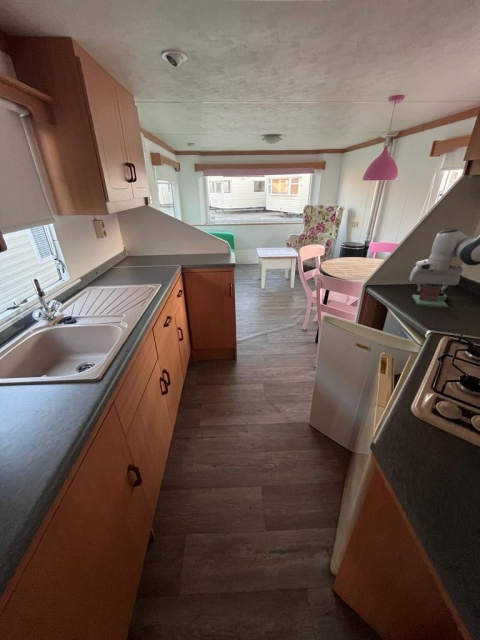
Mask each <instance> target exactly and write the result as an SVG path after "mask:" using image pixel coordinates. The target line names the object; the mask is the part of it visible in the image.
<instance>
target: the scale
mask: <svg viewBox="0 0 480 640" xmlns="http://www.w3.org/2000/svg"><path fill="white" fill-rule="evenodd" d="M419 296H420V294H411V298H412V299H413V301H414V302H415V304H416V305H417V306H422V307H433V308H434V307H435V308H443V309H444V308H445V309H450V306H449V305H448V304H447V303H446V302H445V301H446V300H447V298H448V295H447V294H445V293H444V296H438V300H437V301H427V300H420V299H418V298H419Z"/></svg>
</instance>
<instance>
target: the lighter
mask: <svg viewBox="0 0 480 640" xmlns="http://www.w3.org/2000/svg"><path fill="white" fill-rule="evenodd" d="M421 287H422V288H423V289H422V292H421V291H420V293H419V295H420V296H419V298H418V299H420V300H427V301H437V300H438V295H439V292H440V289H441V288H442V287H443V285H440V284H426V283H422V284H421Z"/></svg>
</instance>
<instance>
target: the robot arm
mask: <svg viewBox="0 0 480 640" xmlns="http://www.w3.org/2000/svg"><path fill="white" fill-rule="evenodd" d="M454 258H457V259H459V260H460V261H461V262H462V263H463V264H465V265H466V266H478V265H480V235H479V236H478V237H476V238H474V237H472V236H469V235H467V234H465V233H463V232H461V231H460V229H457V228H445V229H443V230H440V231H439V232H437V234H436V236H435V238H434V242H433V243H432V247H431V253H430V255H429V257H428V259H424V260H423V259H422V260H419V261H416V262H415V266H414V267H413V268H412V270H411V272H410V276H409V282H411V283H413V284H416V285H417V292H420V293H421V292H422V289H423V288H422V284H436V285H437V284H439V285H441V286H442V287H441V289H440V292H439V293H443V292H444V290H446V289H447V288H448V286H457V285H458V284H459V283H460V278H461V274H462V273H463V270H464V269H463V267H462V266H461V265H453V264H452V265H451V263H452V261H453V259H454Z"/></svg>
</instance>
